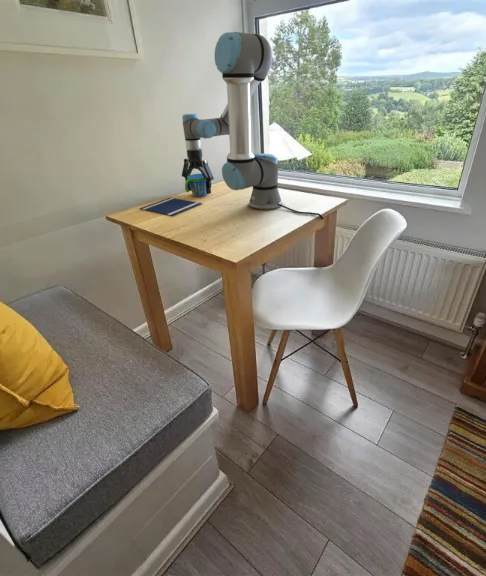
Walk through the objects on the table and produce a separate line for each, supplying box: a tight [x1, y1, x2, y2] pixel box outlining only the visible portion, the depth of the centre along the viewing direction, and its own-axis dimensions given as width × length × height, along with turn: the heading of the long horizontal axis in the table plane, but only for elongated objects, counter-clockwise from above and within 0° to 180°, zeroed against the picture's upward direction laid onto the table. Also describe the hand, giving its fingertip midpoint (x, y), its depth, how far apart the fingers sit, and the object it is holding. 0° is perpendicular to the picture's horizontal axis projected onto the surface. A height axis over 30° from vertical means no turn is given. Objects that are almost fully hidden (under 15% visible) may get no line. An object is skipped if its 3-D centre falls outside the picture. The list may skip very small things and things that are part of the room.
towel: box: [139, 197, 203, 217], centre depth 158 cm, size 22×20×1 cm
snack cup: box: [184, 173, 208, 198], centre depth 170 cm, size 16×10×10 cm
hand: (199, 192), depth 172 cm, fingers open, 13 cm apart
